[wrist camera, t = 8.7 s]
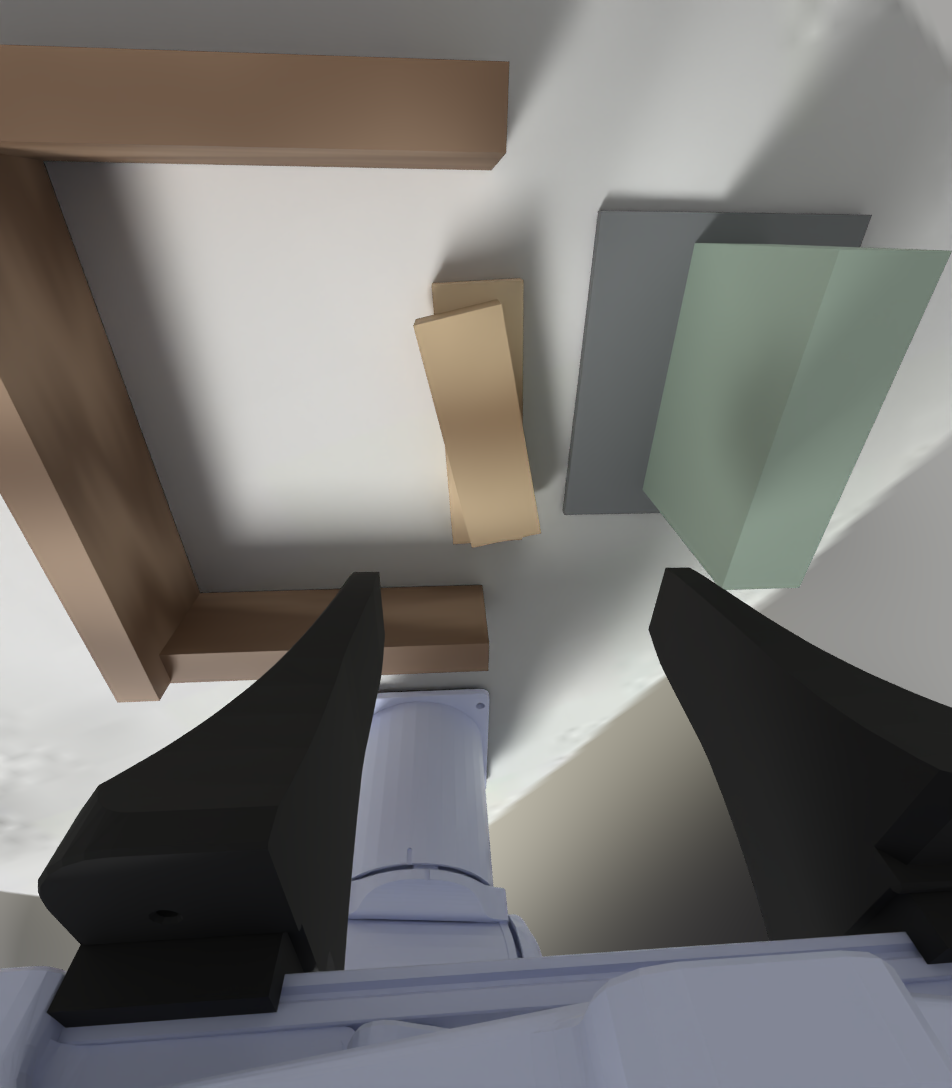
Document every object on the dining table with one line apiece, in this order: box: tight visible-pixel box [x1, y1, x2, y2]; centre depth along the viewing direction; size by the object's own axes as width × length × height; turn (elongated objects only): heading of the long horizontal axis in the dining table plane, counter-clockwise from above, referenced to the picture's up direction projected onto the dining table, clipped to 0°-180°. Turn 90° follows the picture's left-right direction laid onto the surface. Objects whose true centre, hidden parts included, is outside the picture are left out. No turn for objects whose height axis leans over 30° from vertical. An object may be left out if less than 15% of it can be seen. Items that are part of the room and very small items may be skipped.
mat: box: [563, 211, 872, 515], centre depth 19 cm, size 11×9×1 cm
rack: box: [0, 45, 509, 702], centre depth 17 cm, size 19×15×5 cm
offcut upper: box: [413, 299, 541, 548], centre depth 18 cm, size 8×3×2 cm, turn 12°
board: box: [643, 243, 952, 590], centre depth 16 cm, size 9×2×7 cm, turn 179°
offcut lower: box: [432, 278, 523, 544], centre depth 19 cm, size 10×3×2 cm, turn 3°
